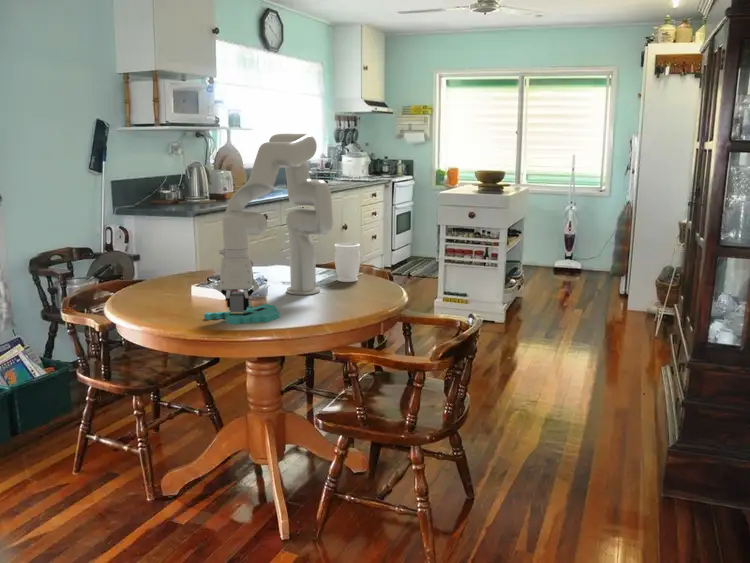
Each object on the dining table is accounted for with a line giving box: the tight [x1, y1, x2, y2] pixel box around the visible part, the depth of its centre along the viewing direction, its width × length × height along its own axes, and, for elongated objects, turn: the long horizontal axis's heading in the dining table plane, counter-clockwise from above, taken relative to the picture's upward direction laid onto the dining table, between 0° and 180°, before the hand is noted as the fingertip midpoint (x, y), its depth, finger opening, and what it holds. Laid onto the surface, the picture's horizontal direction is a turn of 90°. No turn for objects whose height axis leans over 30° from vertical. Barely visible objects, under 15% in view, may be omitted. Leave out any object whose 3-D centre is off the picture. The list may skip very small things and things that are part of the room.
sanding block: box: [229, 291, 245, 314], centre depth 220 cm, size 7×4×6 cm, turn 3°
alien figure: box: [203, 303, 280, 325], centre depth 224 cm, size 20×2×20 cm
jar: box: [333, 242, 361, 283], centre depth 278 cm, size 11×10×15 cm
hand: (238, 308), depth 221 cm, fingers closed on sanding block, 4 cm apart
